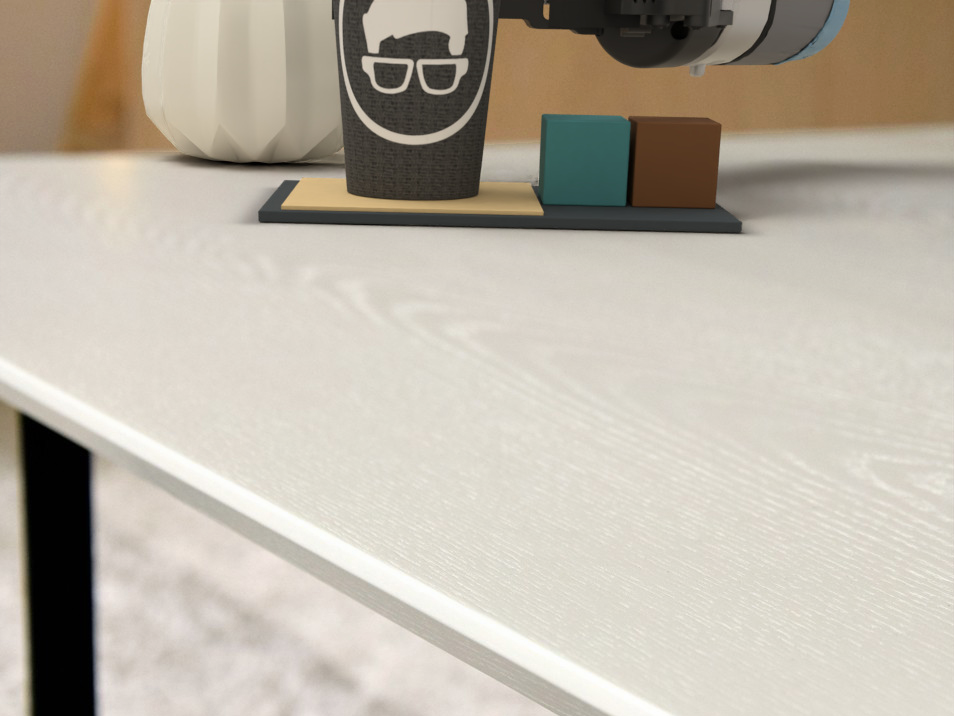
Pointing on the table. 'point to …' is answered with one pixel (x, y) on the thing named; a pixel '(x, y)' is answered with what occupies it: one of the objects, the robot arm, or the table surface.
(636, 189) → the word mat
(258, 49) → the vase
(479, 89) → the coffee cup
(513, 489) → the table surface
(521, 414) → the table surface
